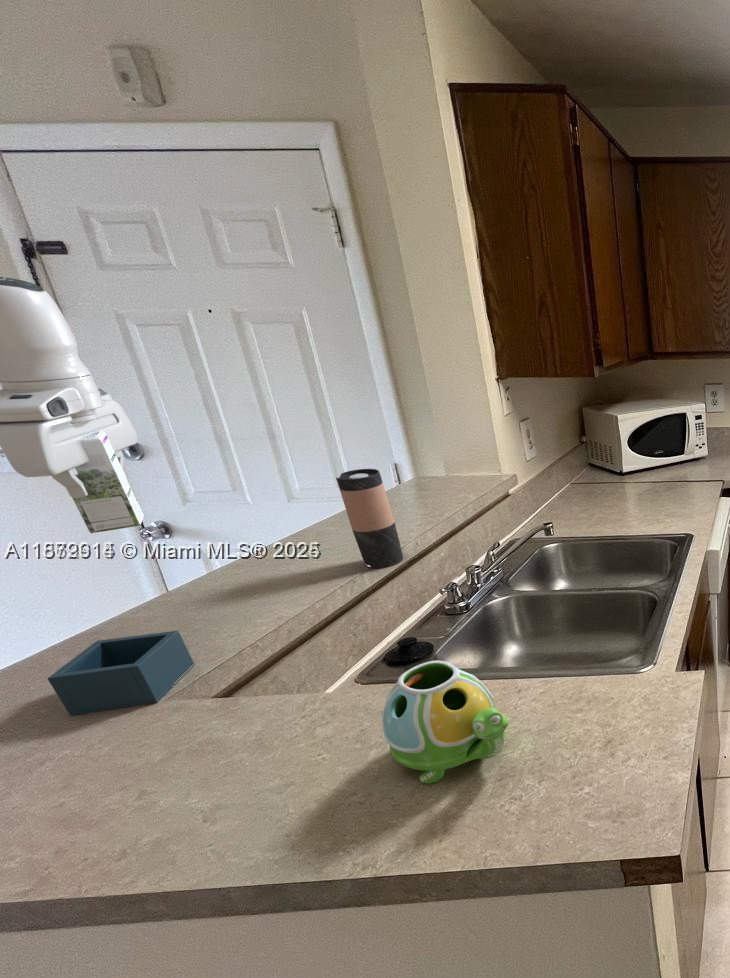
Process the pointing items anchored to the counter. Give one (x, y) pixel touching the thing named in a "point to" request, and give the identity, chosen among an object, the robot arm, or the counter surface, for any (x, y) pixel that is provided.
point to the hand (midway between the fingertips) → (100, 488)
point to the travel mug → (370, 517)
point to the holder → (122, 672)
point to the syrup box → (105, 489)
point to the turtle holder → (441, 720)
